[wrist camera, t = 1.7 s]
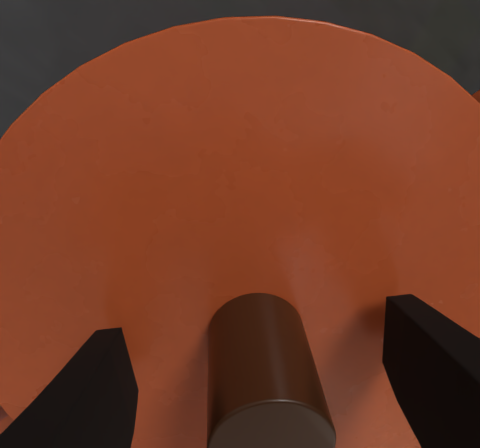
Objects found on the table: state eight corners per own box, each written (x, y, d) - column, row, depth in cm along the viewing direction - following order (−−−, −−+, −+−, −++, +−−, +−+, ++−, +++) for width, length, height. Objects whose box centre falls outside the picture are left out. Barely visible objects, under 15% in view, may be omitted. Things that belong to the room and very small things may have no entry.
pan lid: (576, 338, 13) (739, 477, 9) (204, 527, 16) (201, 694, 12) (351, -160, 8) (508, -373, 4) (-150, 264, 10) (-374, 409, 6)
